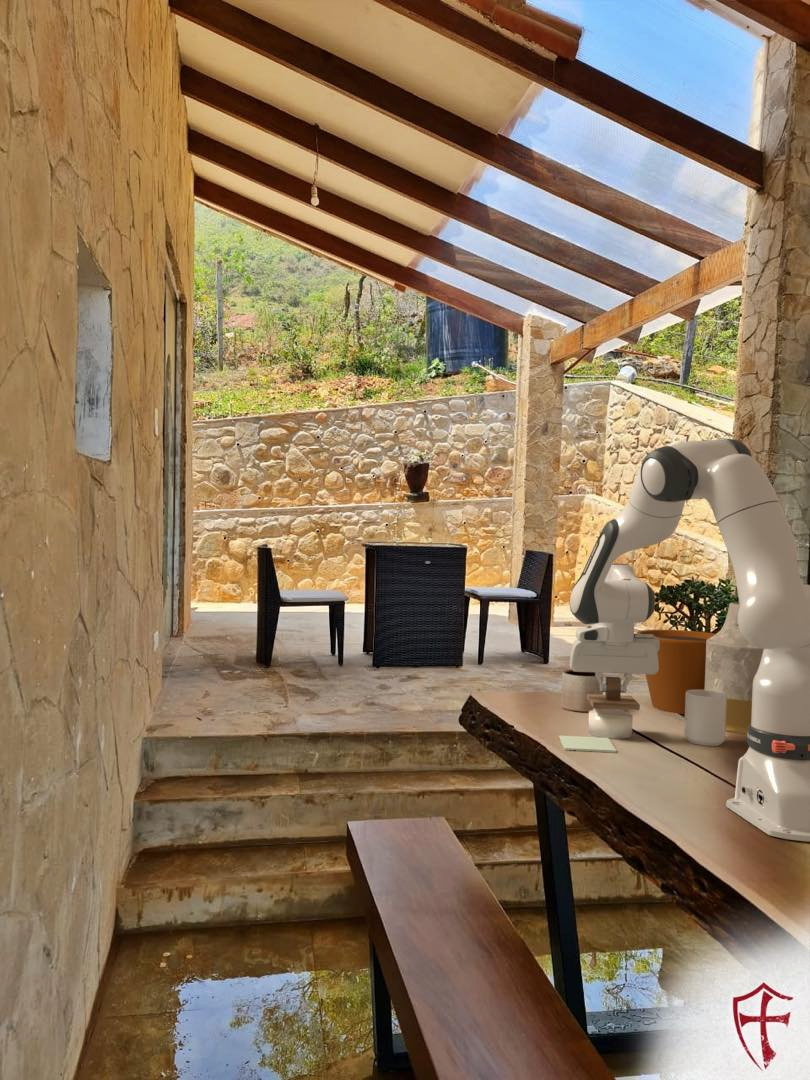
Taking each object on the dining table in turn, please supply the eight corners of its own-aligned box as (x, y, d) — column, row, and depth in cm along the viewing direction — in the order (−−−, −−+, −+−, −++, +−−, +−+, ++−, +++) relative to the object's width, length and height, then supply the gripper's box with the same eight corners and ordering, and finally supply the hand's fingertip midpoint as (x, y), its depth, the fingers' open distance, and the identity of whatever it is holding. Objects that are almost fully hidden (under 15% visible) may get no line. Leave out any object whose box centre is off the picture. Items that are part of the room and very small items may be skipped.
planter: (552, 705, 229) (553, 670, 229) (585, 703, 234) (586, 668, 234) (577, 714, 220) (578, 677, 219) (611, 711, 224) (612, 675, 224)
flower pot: (616, 701, 237) (618, 630, 237) (684, 697, 246) (686, 628, 246) (674, 721, 215) (676, 642, 215) (746, 715, 224) (749, 639, 224)
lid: (639, 709, 194) (640, 682, 194) (593, 707, 195) (594, 680, 195) (631, 700, 204) (631, 675, 204) (587, 699, 205) (587, 673, 205)
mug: (726, 748, 189) (728, 698, 189) (685, 744, 191) (686, 695, 191) (721, 736, 201) (723, 689, 201) (682, 732, 203) (683, 686, 203)
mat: (616, 752, 182) (616, 750, 182) (564, 750, 183) (564, 747, 183) (607, 740, 193) (608, 737, 193) (559, 737, 194) (559, 735, 194)
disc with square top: (635, 739, 194) (636, 718, 194) (591, 737, 195) (592, 715, 195) (627, 729, 204) (628, 708, 204) (585, 727, 205) (586, 706, 205)
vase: (744, 715, 224) (748, 600, 223) (799, 732, 207) (804, 607, 206) (687, 719, 217) (692, 600, 217) (740, 737, 200) (745, 607, 200)
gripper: (656, 632, 202) (655, 691, 202) (569, 629, 203) (567, 687, 203) (662, 635, 195) (661, 696, 195) (572, 632, 197) (571, 692, 197)
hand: (612, 691), depth 199 cm, fingers closed on lid, 3 cm apart
